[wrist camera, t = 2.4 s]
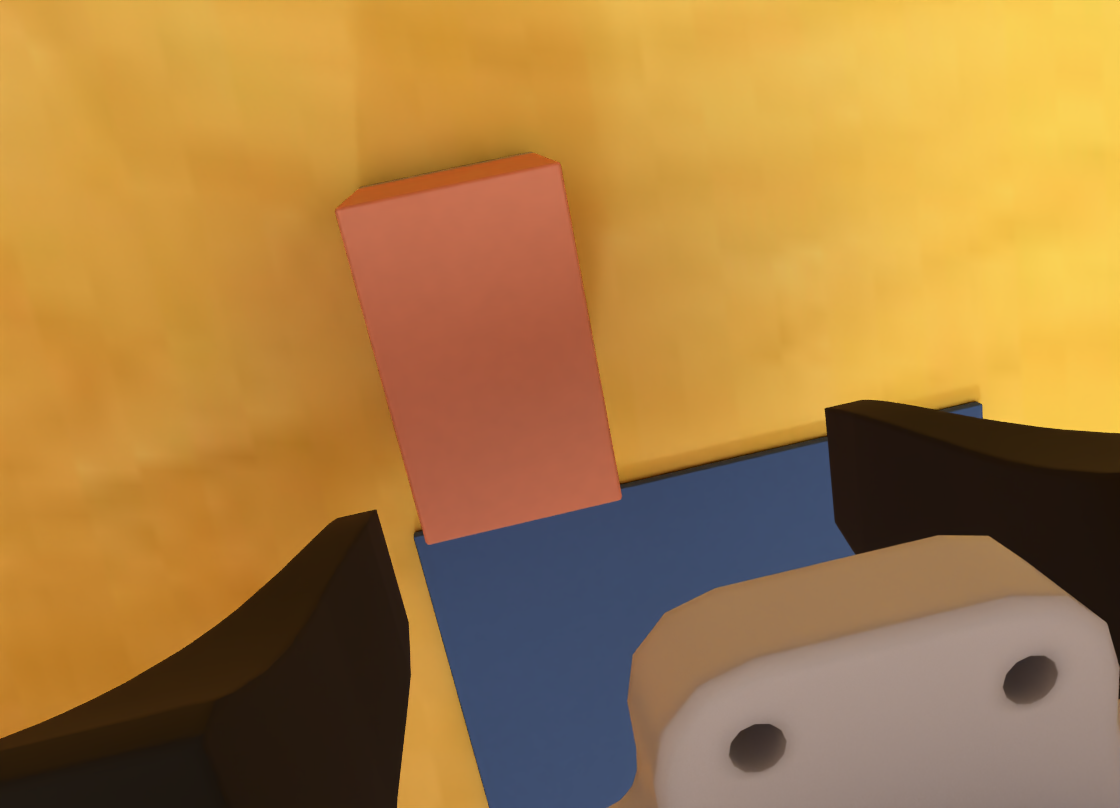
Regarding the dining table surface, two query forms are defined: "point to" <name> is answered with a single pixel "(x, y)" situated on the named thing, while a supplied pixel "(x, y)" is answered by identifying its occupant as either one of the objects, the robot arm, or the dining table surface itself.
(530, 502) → the orange rectangular block
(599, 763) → the cloth
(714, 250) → the dining table surface
